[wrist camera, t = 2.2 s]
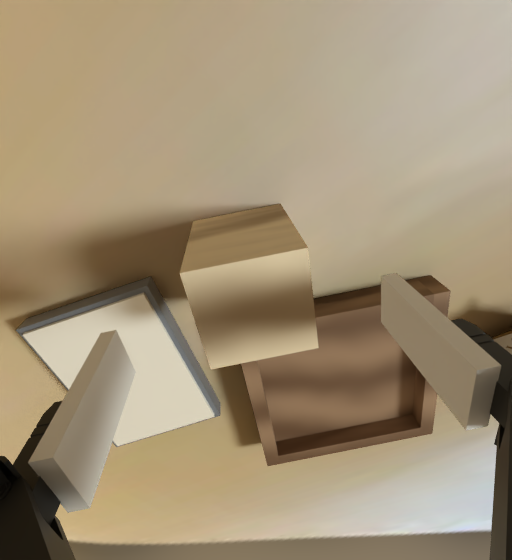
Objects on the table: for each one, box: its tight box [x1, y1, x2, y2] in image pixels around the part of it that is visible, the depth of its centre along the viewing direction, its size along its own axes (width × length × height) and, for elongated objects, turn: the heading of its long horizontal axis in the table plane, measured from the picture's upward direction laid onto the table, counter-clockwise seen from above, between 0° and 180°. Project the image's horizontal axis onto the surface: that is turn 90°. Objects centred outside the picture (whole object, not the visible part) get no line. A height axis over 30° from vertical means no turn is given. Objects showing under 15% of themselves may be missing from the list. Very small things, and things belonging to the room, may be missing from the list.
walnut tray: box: [241, 276, 450, 466], centre depth 28 cm, size 16×16×2 cm
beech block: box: [180, 204, 319, 369], centre depth 20 cm, size 6×6×8 cm
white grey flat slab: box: [16, 277, 220, 447], centre depth 26 cm, size 14×10×2 cm
